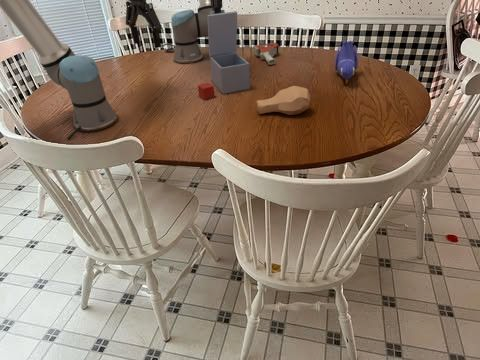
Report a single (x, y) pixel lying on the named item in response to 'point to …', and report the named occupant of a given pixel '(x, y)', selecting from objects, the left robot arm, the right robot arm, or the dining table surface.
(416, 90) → the dining table surface
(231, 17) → the lid
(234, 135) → the dining table surface
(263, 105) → the squash
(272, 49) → the tape dispenser
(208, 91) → the block
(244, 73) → the chest
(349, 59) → the toy
